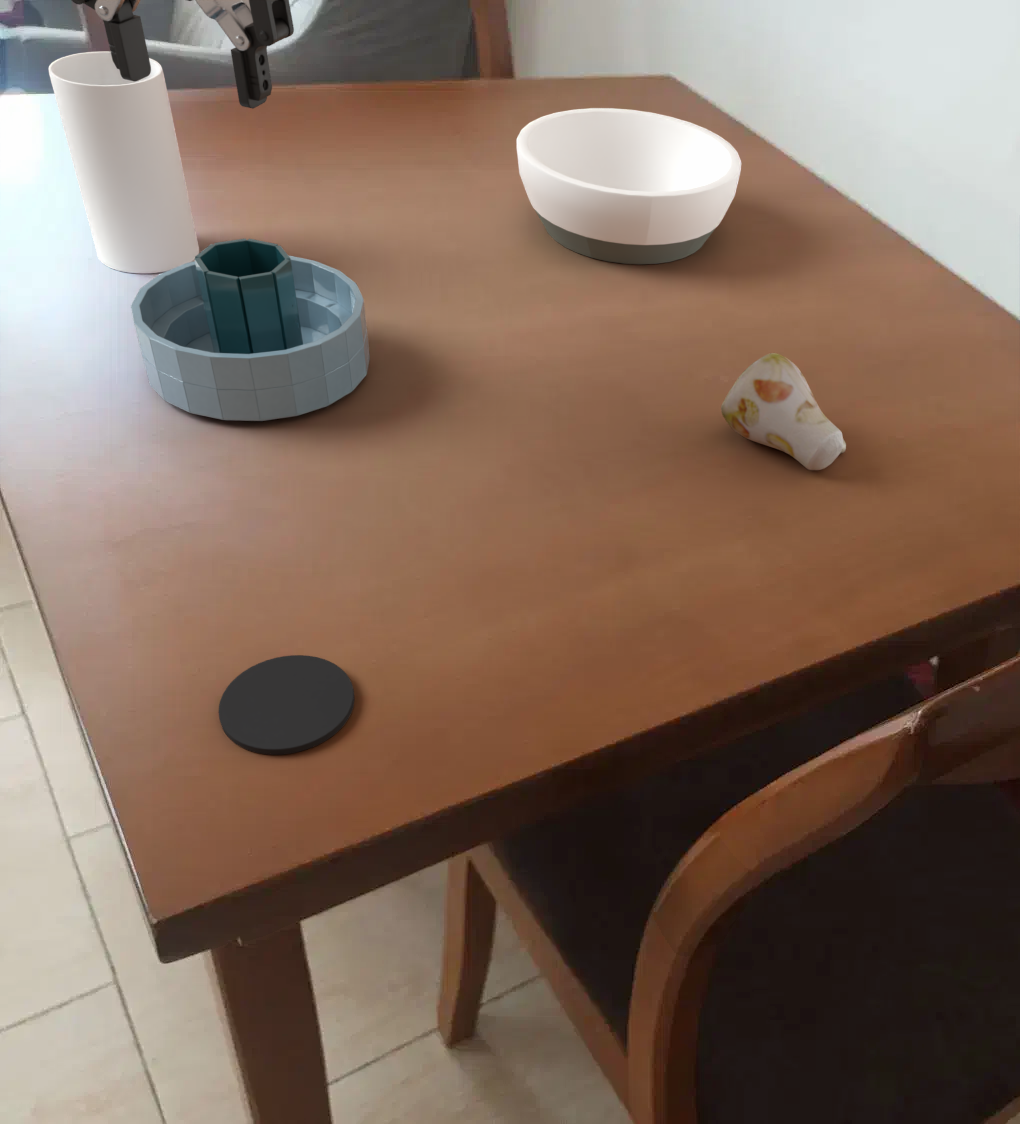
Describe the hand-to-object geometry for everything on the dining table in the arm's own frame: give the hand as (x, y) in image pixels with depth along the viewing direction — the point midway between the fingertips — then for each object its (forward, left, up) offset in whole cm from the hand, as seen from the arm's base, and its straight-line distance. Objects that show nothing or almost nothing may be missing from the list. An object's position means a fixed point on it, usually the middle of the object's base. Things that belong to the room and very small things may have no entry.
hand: (195, 91), depth 75 cm
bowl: (+21, +38, -22) cm, 49 cm away
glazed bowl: (+1, 0, -22) cm, 22 cm away
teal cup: (+1, 0, -21) cm, 21 cm away
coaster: (+19, -32, -22) cm, 43 cm away
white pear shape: (+43, +4, -22) cm, 48 cm away
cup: (-17, +14, -22) cm, 31 cm away
